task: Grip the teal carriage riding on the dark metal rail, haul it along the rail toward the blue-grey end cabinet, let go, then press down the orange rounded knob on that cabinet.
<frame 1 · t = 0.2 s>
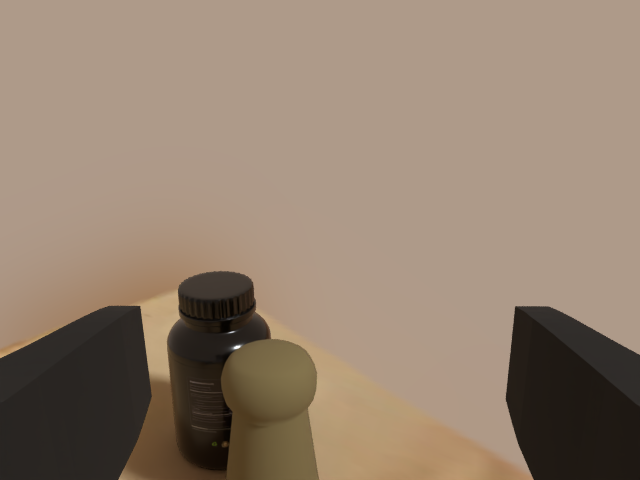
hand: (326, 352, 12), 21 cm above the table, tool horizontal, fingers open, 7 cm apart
supplement bottle: (226, 443, 43), on the table
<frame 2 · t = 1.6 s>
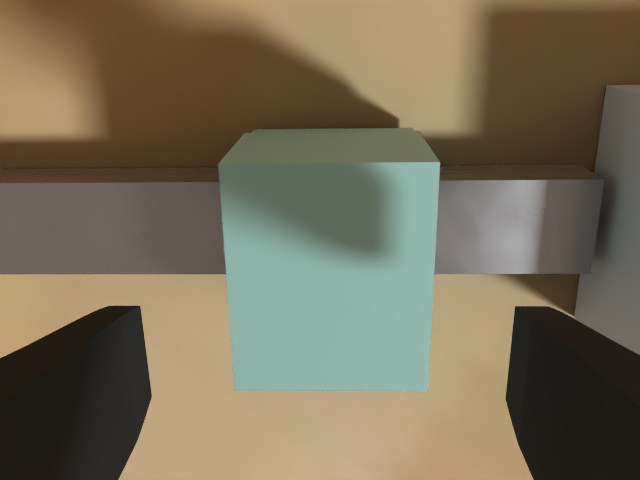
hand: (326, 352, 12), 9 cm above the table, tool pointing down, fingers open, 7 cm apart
carriage: (331, 243, 17), point 3 cm above the table, slide at 0.0 cm
rail: (244, 210, 21), on the table
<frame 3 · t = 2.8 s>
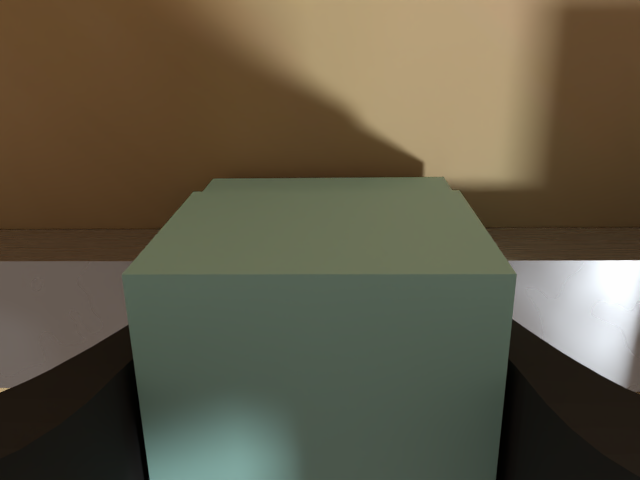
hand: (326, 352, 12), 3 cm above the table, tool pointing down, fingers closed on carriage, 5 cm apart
carriage: (325, 360, 11), point 3 cm above the table, slide at 0.0 cm, touching gripper
rail: (204, 288, 15), on the table
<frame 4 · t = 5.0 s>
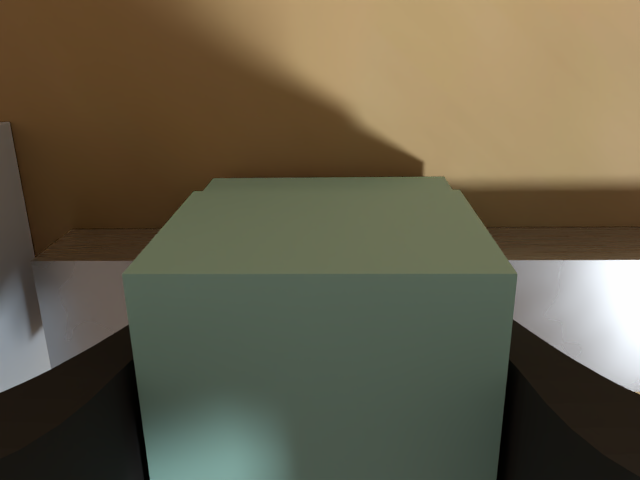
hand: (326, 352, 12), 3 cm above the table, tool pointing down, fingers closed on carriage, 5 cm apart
carriage: (326, 360, 11), point 3 cm above the table, slide at 8.0 cm, touching gripper
rail: (541, 287, 14), on the table
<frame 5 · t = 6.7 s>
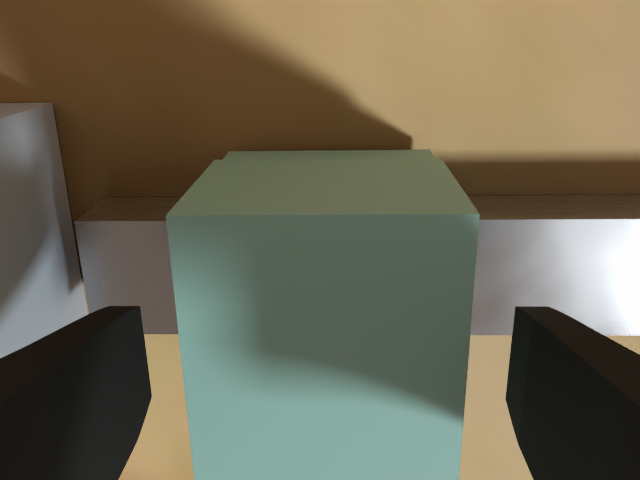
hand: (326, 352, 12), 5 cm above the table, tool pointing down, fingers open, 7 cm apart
carriage: (327, 303, 13), point 3 cm above the table, slide at 8.0 cm
rail: (516, 248, 16), on the table
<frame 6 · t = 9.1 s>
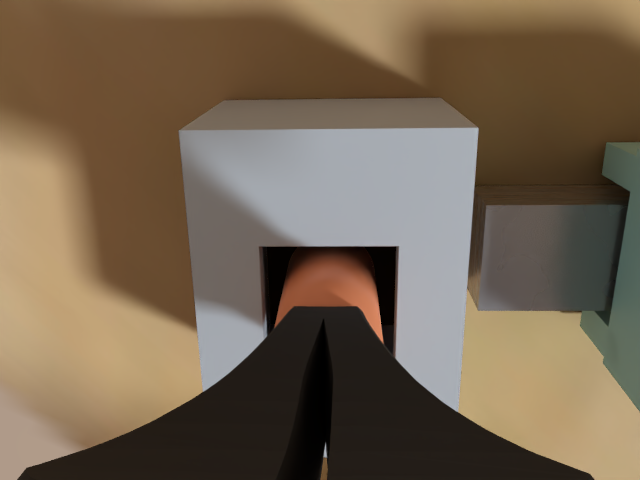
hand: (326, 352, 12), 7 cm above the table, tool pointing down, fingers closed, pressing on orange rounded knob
orange rounded knob: (329, 309, 14), point 5 cm above the table, slide at 0.0 cm, touching gripper
end cabinet: (332, 235, 18), on the table
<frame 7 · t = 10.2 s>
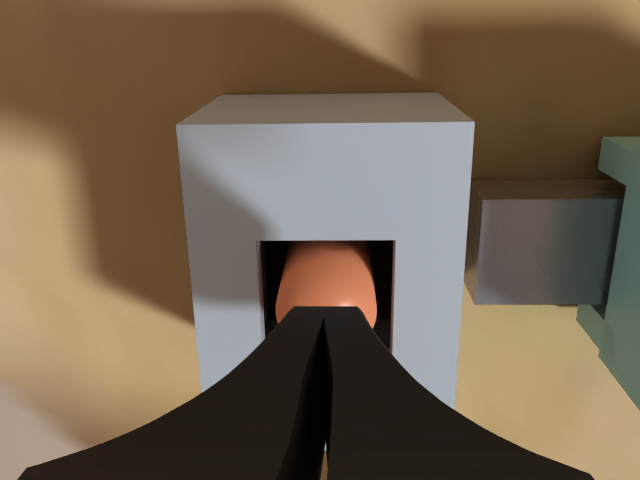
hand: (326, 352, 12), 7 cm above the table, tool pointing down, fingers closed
orange rounded knob: (327, 274, 15), point 3 cm above the table, slide at 1.6 cm
end cabinet: (330, 229, 18), on the table
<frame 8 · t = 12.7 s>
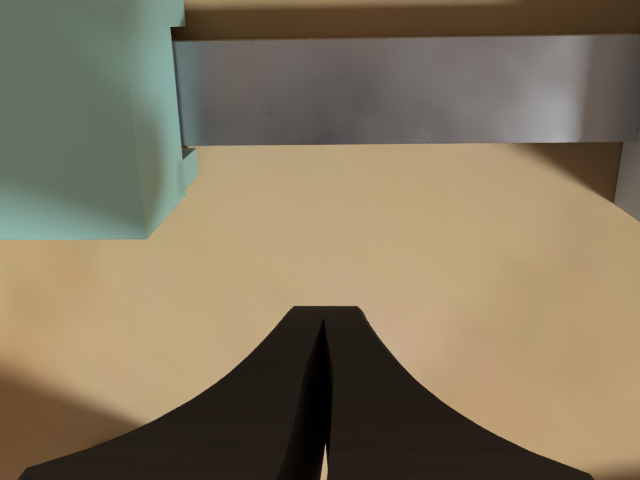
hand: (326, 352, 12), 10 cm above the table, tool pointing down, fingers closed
carriage: (76, 101, 17), point 3 cm above the table, slide at 8.0 cm
rail: (270, 87, 20), on the table
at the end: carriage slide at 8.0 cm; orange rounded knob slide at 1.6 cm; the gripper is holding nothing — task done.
